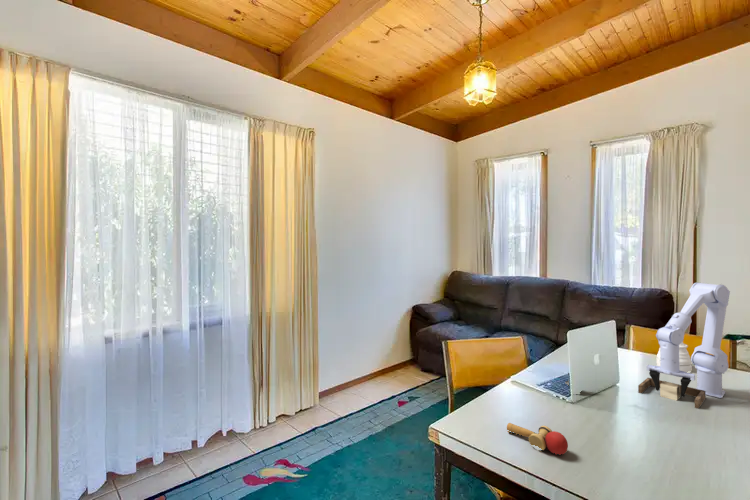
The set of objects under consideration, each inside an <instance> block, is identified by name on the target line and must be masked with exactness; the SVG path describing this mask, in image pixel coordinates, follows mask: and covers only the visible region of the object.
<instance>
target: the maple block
mask: <svg viewBox="0 0 750 500" xmlns="http://www.w3.org/2000/svg"><path fill="white" fill-rule="evenodd" d="M662 381H663V382H662V383H661V384H660V390H659V391H660V392H659V393H660V395H659V396H660V397H661V398H664V399H669V400H672V401H678V400H679V399H680V398H681V393H680V385H681V384H678V383H674V382H670V381H665V380H662Z"/></svg>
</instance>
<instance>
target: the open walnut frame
mask: <svg viewBox="0 0 750 500" xmlns="http://www.w3.org/2000/svg"><path fill="white" fill-rule="evenodd" d="M663 381H664V380H660V379H659V383H660V384H661V383H662V382H663ZM679 385H680V394H681V384H679ZM637 387H638V391H637V392H638V393H639V394H642V393H644V392H645V391H646V390H647V389H648V388H649V387H653V388H656V387H655V384H654V382H653V380H652V378H651V377H647V378H646V379H644V380H643V381H642V382H641V383H640V384H638V386H637ZM686 395H687V396H690V397H694V409H700V407H701V406H702V404H703V403H704V402H705V400H706V399H707V398H706V397H707V395H705V391H704V390H700V389H696V388H695V387H691V386H688V387H687V389H686V392H685V396H686Z"/></svg>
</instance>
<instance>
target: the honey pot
mask: <svg viewBox="0 0 750 500" xmlns="http://www.w3.org/2000/svg"><path fill="white" fill-rule="evenodd" d="M688 347H689V345H688V344H686V343H684V341H683V342H682V343H681V344H679V370H680V371H684V372H688V371H691V370H692V371H693V366H692V365H693V364H692V362H691V356H690V354H689V351H688V350H687V348H688ZM656 366H660V347H659V348H658V352H657V354H656Z"/></svg>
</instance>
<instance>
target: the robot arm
mask: <svg viewBox="0 0 750 500" xmlns="http://www.w3.org/2000/svg"><path fill="white" fill-rule="evenodd" d="M688 292H689V293H688V294H689V297H688V299H687V300H686V302H685V303H684V305H683V307H682V308H681V309H680V311H679V312H675V313H674V314H672V315H671V318H670V319H669V320H668V322H667V323H666V324H665V326H663V327H660V328H658V329H657V332H656V334H655V337H656V339H657V341H658V345H659V348H660V366H657V365H652V364H646V371H648V372H649V376H650V378H652V380H653V382H654V384H655V387H654V388H655V391H657V392H659V391H660V383H659V380H660V379H661V378H660V377H661V374H664V375H669V376H673V377H678V378H681V379H680V385H681V393H680V398H681V397H682V398H685V396H686V394H685V392H686V389H687V387H689V385H690V383H691V381H692V382H693V381H695V380H696V381H697V382H696V385H697V386H696V388H695V389H700V390H704V391H705V396H710V397H712V398H713V397H715V398H718V399H723V397H724V396H725V394H726V390H723V374H725V373H726V372H727V371H728V369H729V362H728V355H727V354H726V353H725V352H724V351H723V350H722V348H721V344H722V338H723V332H724V325H725V319H726V313H727V308H728V305H729V301H730V300H729V299H730V294H731V293H730V292H731V291H730V290H729V289H728V287H727V286H726V285H725V284H722V283H721V284H716V283H707V282H706V283H705V282H694V283H693V284H692V285H691V287H690V288H689V291H688ZM703 304H704V305H705V306H706V309H707V310H706V317H705V322H704V328H703V334H702V340H701V344H700V345H698V346H696V347H694V348H693V349H694V351H693V353H692V354H691V356H690V359H691V362H692V363H691V364H692V365H694V368H695V369H696V374H695V373H691V372H690V373H687V372H684V371H680V370H679V344H681V343H682V342H683V343H684V340H685V339H684V338H685V332H686V330H687V329H688V327H689V326H690V325H691V324H692V318H691V317H693V315H694V314H695V313H697V310H699V308H700V307H702V305H703ZM696 377H697V378H696Z"/></svg>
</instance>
